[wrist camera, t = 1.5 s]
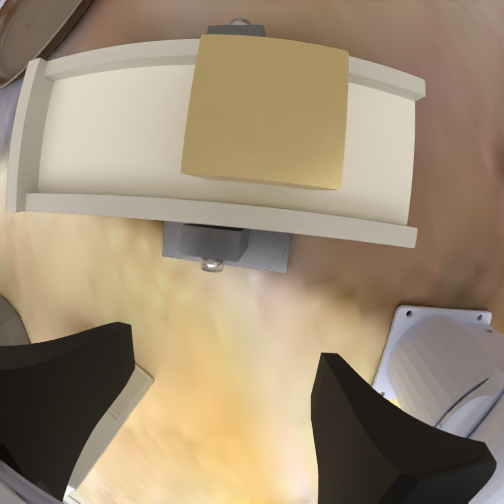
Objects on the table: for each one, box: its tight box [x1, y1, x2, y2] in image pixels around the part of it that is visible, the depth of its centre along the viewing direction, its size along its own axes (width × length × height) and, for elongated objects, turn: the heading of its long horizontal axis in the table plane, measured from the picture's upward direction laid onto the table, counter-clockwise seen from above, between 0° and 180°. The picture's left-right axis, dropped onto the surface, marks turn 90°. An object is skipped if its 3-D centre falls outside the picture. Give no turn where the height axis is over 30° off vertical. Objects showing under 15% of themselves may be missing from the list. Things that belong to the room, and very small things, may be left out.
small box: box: [63, 364, 154, 499], centre depth 16 cm, size 8×6×13 cm
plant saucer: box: [0, 0, 92, 89], centre depth 15 cm, size 21×21×3 cm
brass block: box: [180, 34, 349, 190], centre depth 11 cm, size 5×5×5 cm
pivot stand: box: [162, 18, 309, 273], centre depth 15 cm, size 8×15×4 cm, turn 175°
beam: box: [6, 39, 426, 248], centre depth 13 cm, size 22×9×3 cm, turn 84°
